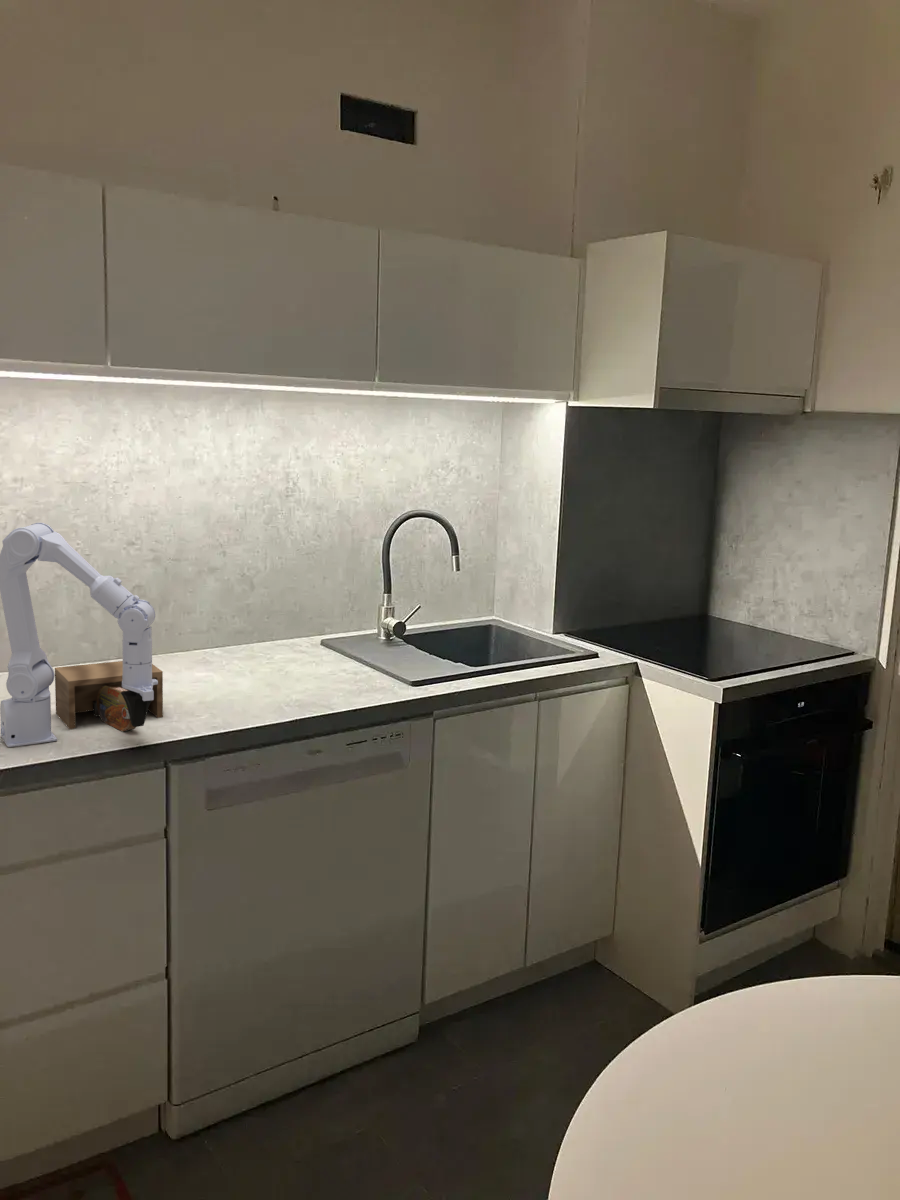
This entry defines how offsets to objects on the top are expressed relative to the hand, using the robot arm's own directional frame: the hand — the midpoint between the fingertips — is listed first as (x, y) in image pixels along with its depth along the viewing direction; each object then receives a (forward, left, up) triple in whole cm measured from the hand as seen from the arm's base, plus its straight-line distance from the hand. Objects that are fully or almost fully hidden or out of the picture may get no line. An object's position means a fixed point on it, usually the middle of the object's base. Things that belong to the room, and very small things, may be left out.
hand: (137, 725), depth 207 cm
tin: (0, +13, -4) cm, 14 cm away
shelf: (0, +21, -4) cm, 21 cm away
